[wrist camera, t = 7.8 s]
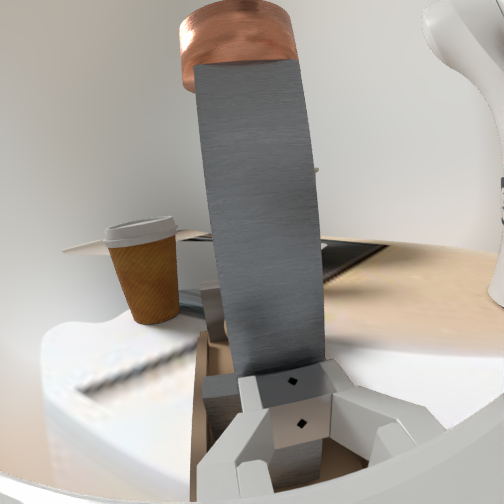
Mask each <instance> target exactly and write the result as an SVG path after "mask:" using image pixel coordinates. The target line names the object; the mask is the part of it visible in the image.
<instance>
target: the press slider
mask: <svg viewBox="0 0 504 504" xmlns="http://www.w3.org/2000/svg"><path fill="white" fill-rule="evenodd" d="M179 32H180V49H181V66H182V80H183V86H184V88H185V89H186V90H188V91H190V92H193V93H196V103H197V113H198V122H199V133H200V142H201V151H202V159H203V168H204V177H205V185H206V193H207V201H208V208H209V216H210V223H211V231H212V238H213V245H214V252H215V258H216V265H217V272H218V278H219V285H220V291H221V298H222V304H223V310H224V316H225V322H226V328H227V334H228V340H229V345H230V351H231V357H232V362H233V368H234V373H229V374H222V375H214V376H206V377H203V383H202V400H203V403H204V407H205V410H206V414H207V417H208V420H209V424H210V427H211V430H212V433H213V436H214V440H215V443H216V441H217V440H218V439H219V438H220V436H221V435H222V434H223V432H224V431H225V430H226V429H227V427H228V426H229V425H230V423H231V422H232V421H233V419H234V418H235V417H236V415H237V414H238V413H243V409H242V403H241V396H240V390H239V383H238V378H242V377H248V376H255V375H261V374H267V373H273V372H279V371H285V370H291V369H296V368H301V367H305V366H309V365H314V364H318V363H320V362H323V361H327V360H326V358H325V331H324V295H323V272H322V255H321V239H320V226H319V214H318V202H317V192H316V182H315V172H314V164H313V155H312V148H311V139H310V131H309V125H308V117H307V110H306V104H305V97H304V91H303V85H302V80H301V73H300V65H299V59H298V54H297V49H296V44H295V39H294V34H293V30H292V25H291V20H290V16H289V15H288V13H287V12H286V11H285V10H284V9H283V8H281V7H279V6H278V5H275V4H273V3H271V2H267V1H263V0H223V1H219V2H215V3H212V4H209V5H206V6H204V7H202V8H200V9H198V10H196V11H194V12H193V13H192V14H190V15H189V16H188V17H187V18H186V19H185V20H184V21H183V22H182V24H181V26H180V30H179ZM322 441H323V438H322V439H318V440H313V441H309V442H305V443H300V444H296V445H292V446H288V447H284V448H280V449H275V452H274V454H273V456H272V458H271V461H270V463H269V465H268V471H269V475H270V479H271V483H272V487H273V489H277V488H282V487H287V486H292V485H296V484H301V483H305V482H309V481H313V480H317V479H320V471H321V457H322Z"/></svg>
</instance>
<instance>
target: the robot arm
mask: <svg viewBox="0 0 504 504" xmlns="http://www.w3.org/2000/svg"><path fill="white" fill-rule="evenodd" d="M422 30H423V34H424V37H425V40H426V42H427V44H428V46H429V47H430V49H431V50H432V52H433V53H434V54H435V55H436V56H437V57H438V58H439V59H440V60H441V61H442V62H443V63H444V64H446V65H447V66H449V67H450V68H452V69H454V70H456V71H458V72H459V73H461V74H462V75H464V76H465V77H466V78H467V79H469V80H470V81H471V82H472V83H473V84H474V85H475V86H476V87H477V88H478V90H479V91H480V92H481V94H482V95H483V96H484V98H485V100H486V101H487V103H488V105H489V107H490V109H491V111H492V114H493V116H494V120H495V123H496V127H497V131H498V136H499V141H500V146H501V153H502V162H503V174H504V0H439V1H437V2H435V3H433V4H431V5H429V6H427V7H425V8H424V11H423V14H422ZM501 215H502V223H503V231H502V240H501V245H500V251H499V255H498V260H497V264H496V267H495V271H494V274H493V276H492V279H491V282H490V284H489V286H488V293H489V295H490V297H491V298H492V299H493V300H494V301H495V302H496V303H498V304H499V305H500V306H502V307H504V177H502V178H501ZM238 383H239V390H240V396H241V403H242V409H243V413H238V414H237V415H236V417H235V418H234V419H233V421H232V422H231V423H230V425H229V426H228V427H227V429H226V430H225V431H224V432H223V434H222V435H221V436H220V438H219V439H218V440H217V441H216V443H215V444H214V445H213V446H212V448H211V449H210V450H209V451H208V453H207V454H206V455H205V456H204V457H203V459H202V460H201V461H200V462H199V464H198V465H197V502H146V501H132V500H121V499H113V498H105V497H98V496H92V495H86V494H81V493H76V492H71V491H66V490H62V489H58V488H54V487H50V486H46V485H42V484H39V483H35V482H32V481H29V480H25V479H22V478H19V477H16V476H14V475H11V474H8V473H5V472H2V471H0V504H504V393H503V394H502V395H500V396H499V397H498V398H496V399H495V400H494V401H492V402H491V403H489V404H488V405H486V406H485V407H484V408H482V409H481V410H479V411H478V412H476V413H475V414H473V415H472V416H470V417H468V418H467V419H465V420H464V421H462V422H460V423H459V424H457V425H455V426H454V427H452V428H450V429H449V430H446V429H445V428H444V427H443V426H442V425H441V424H440V423H439V422H438V420H437V419H436V418H435V417H434V416H433V415H432V414H431V413H430V412H429V411H428V410H427V408H426V407H423V406H420V405H417V404H413V403H410V402H407V401H403V400H400V399H397V398H394V397H391V396H388V395H385V394H382V393H379V392H376V391H373V390H370V389H367V388H364V387H361V386H357V387H355V386H354V385H353V384H352V382H351V381H350V380H349V378H348V377H347V375H346V374H345V373H344V371H343V370H342V368H341V367H340V366H339V364H338V363H337V362H336V360H334V359H330V360H327V361H323V362H320V363H318V364H314V365H309V366H305V367H301V368H296V369H291V370H285V371H279V372H273V373H267V374H261V375H255V376H248V377H242V378H238ZM326 437H330V438H332V439H333V440H335V441H336V442H338V443H339V444H341V445H343V446H344V447H346V448H348V449H349V450H351V451H353V452H354V453H356V454H358V455H359V456H361V457H363V458H365V459H366V460H368V461H369V465H368V468H365V469H362V470H360V471H357V472H354V473H351V474H348V475H345V476H342V477H338V478H335V479H332V480H328V481H325V482H321V483H318V484H314V485H310V486H306V487H302V488H297V489H293V490H288V491H283V492H278V493H274V491H273V487H272V483H271V479H270V475H269V471H268V465H269V463H270V461H271V458H272V456H273V454H274V452H275V449H280V448H284V447H288V446H292V445H296V444H300V443H305V442H309V441H313V440H318V439H322V438H326Z"/></svg>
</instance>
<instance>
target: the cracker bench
mask: <svg viewBox="0 0 504 504" xmlns="http://www.w3.org/2000/svg"><path fill="white" fill-rule="evenodd" d="M200 292H201V297H202V303H203V308H204V313H205V319H206V324H207V329H208V331H204V332H200V337H198V342H197V355H196V368H195V382H194V397H193V415H192V435H191V463H190V502H197V465H198V464H199V462H200V461H201V460H202V459H203V457H204V456H205V455H206V454H207V453H208V451H209V450H210V449H211V448H212V446H213V445H214V444H215V440H214V436H213V433H212V430H211V427H210V424H209V420H208V417H207V414H206V410H205V407H204V403H203V400H202V383H203V377H206V376H214V375H222V374H229V373H234V368H233V362H232V357H231V351H230V345H229V340H228V334H227V328H226V322H225V316H224V310H223V304H222V298H221V291H220V285H219V279H217V280H210V281H202V282H201V289H200ZM368 465H369V461H368V460H366V459H365V458H363V457H361V456H359V455H358V454H356V453H354V452H353V451H351V450H349V449H348V448H346V447H344V446H343V445H341V444H339V443H338V442H336V441H335V440H333V439H332V438H330V437H326V438H323V441H322V457H321V471H320V479H317V480H313V481H309V482H305V483H301V484H296V485H292V486H287V487H282V488H277V489H273V491H274V493H278V492H283V491H288V490H293V489H297V488H302V487H306V486H310V485H314V484H318V483H321V482H325V481H328V480H332V479H335V478H338V477H342V476H345V475H348V474H351V473H354V472H357V471H360V470H362V469H365V468H368Z"/></svg>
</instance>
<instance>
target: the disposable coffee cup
mask: <svg viewBox="0 0 504 504" xmlns="http://www.w3.org/2000/svg"><path fill="white" fill-rule="evenodd" d="M177 228H178V226H177V225H175V222H174V220H173V217H172V216H164V217H154V218H148V219H142V220H137V221H132V222H127V223H122V224H118V225H115V226H111V227H108V228H106V229H105V239H103V242H104V243H105V244H106V247H108V249H109V252H110V255H111V258H112V261H113V264H114V267H115V270H116V273H117V275H118V278H119V281H120V284H121V287H122V290H123V292H124V295H125V297H126V300H127V303H128V305H129V308H130V310H131V313H132V315H133V318H134V320H135V321H136V322H138V323H141V324H154V323H160V322H163V321H166V320H169V319H171V318H173V317H175V316H176V315H177V314H178V313H179V312H180V306H179V293H178V278H177V264H176V263H177V261H176V240H175V234H176V233H177V231H176V229H177Z"/></svg>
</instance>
